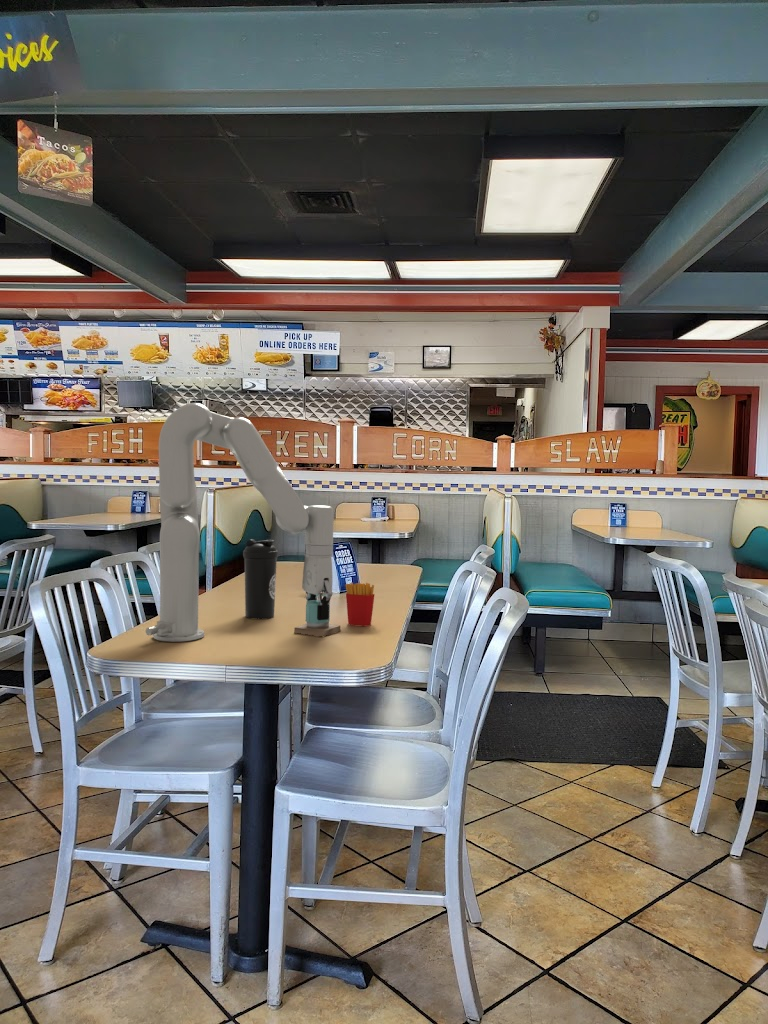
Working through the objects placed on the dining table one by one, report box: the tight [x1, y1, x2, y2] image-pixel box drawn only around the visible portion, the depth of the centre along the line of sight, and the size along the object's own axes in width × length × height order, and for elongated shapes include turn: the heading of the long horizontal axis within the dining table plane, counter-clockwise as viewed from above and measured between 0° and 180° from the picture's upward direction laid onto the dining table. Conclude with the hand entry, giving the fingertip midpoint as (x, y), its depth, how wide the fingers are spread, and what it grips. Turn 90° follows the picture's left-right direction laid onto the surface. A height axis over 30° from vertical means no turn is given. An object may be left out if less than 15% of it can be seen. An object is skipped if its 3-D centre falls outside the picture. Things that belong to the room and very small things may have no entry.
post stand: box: [293, 620, 341, 638], centre depth 192 cm, size 9×9×7 cm
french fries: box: [345, 582, 375, 627], centre depth 203 cm, size 8×4×12 cm, turn 81°
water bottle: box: [242, 538, 279, 620], centre depth 212 cm, size 10×10×23 cm
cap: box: [305, 599, 331, 623], centre depth 192 cm, size 6×6×5 cm
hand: (317, 616), depth 192 cm, fingers closed on cap, 6 cm apart
